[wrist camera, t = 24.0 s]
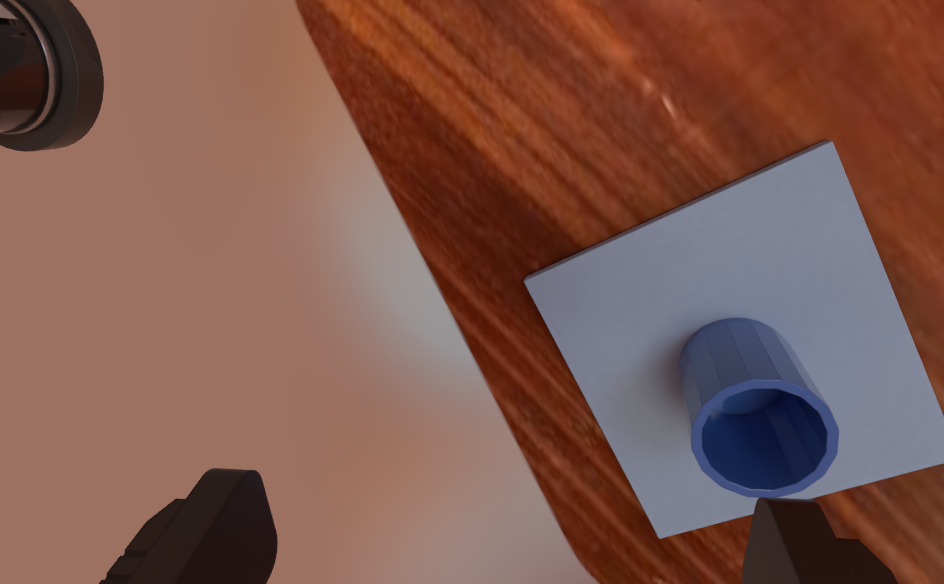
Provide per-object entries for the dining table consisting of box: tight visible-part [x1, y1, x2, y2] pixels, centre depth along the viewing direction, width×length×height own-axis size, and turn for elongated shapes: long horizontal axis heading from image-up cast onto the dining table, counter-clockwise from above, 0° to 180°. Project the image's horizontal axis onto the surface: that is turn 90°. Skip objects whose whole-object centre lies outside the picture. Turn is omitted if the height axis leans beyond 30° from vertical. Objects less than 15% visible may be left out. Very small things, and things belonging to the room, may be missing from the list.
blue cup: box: [678, 318, 839, 498], centre depth 33 cm, size 6×6×8 cm
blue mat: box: [524, 140, 944, 539], centre depth 37 cm, size 18×20×1 cm
